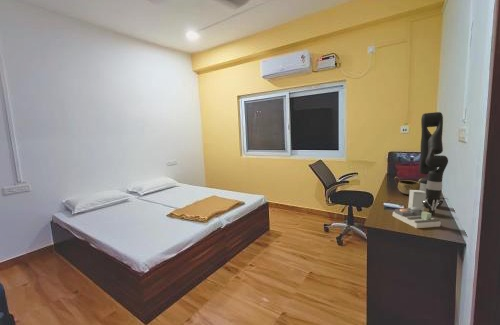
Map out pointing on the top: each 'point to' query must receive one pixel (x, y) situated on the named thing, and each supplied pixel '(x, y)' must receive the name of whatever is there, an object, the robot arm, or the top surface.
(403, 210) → the terracotta button
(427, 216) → the sage slider
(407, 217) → the panel
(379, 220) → the top surface
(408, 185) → the tan woven basket
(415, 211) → the grey button
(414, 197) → the skincare box
